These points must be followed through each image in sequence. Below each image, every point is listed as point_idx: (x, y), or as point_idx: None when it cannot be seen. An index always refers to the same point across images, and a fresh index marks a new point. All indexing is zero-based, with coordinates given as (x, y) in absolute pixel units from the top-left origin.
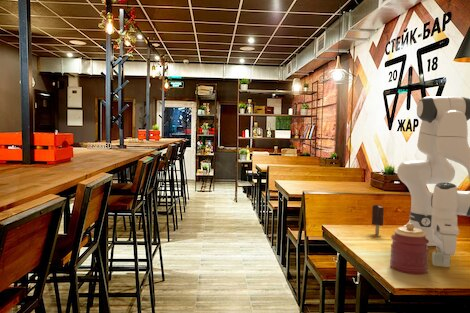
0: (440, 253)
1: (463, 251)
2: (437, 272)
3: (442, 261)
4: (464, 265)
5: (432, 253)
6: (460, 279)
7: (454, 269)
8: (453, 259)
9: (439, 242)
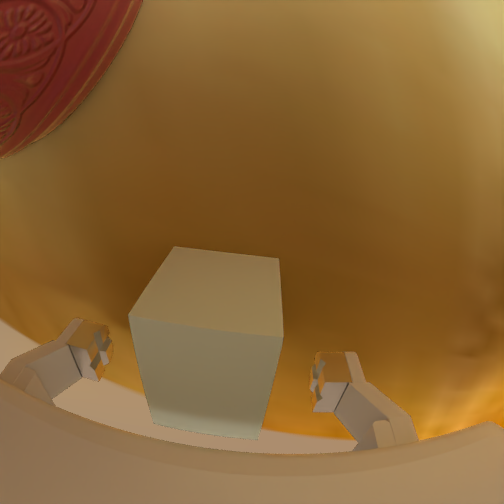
0: (211, 391)
1: None
2: (28, 223)
3: (100, 327)
4: None
5: (273, 319)
6: (4, 309)
7: None
8: None
9: (51, 497)
